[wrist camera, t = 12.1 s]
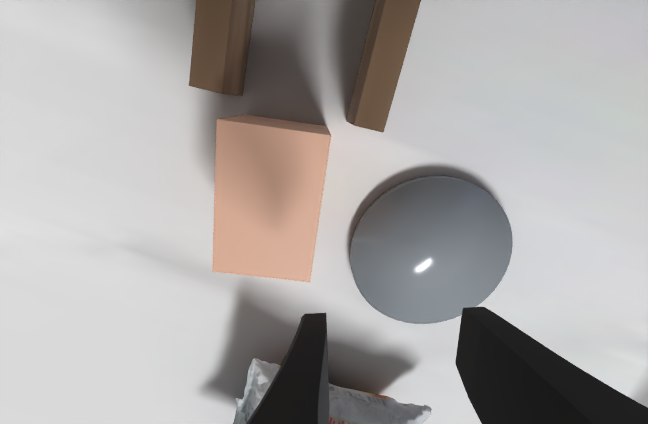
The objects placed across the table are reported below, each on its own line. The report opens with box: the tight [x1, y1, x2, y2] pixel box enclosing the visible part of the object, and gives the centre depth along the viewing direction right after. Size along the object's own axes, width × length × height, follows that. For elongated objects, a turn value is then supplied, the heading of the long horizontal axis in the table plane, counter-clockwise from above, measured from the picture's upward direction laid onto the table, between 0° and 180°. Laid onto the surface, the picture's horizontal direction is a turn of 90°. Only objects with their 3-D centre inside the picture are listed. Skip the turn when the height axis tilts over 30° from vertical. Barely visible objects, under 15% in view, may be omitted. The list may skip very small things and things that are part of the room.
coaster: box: [350, 176, 512, 324], centre depth 18 cm, size 9×9×1 cm
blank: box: [212, 115, 331, 282], centre depth 14 cm, size 4×6×5 cm, turn 172°
